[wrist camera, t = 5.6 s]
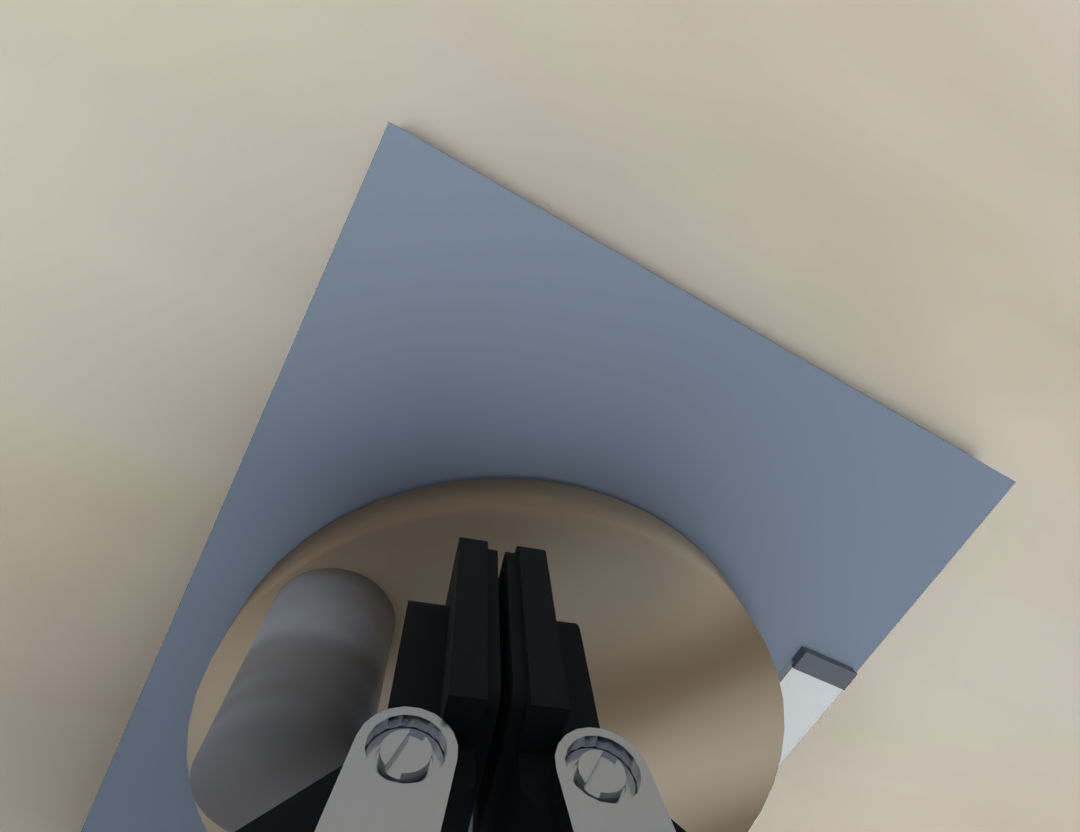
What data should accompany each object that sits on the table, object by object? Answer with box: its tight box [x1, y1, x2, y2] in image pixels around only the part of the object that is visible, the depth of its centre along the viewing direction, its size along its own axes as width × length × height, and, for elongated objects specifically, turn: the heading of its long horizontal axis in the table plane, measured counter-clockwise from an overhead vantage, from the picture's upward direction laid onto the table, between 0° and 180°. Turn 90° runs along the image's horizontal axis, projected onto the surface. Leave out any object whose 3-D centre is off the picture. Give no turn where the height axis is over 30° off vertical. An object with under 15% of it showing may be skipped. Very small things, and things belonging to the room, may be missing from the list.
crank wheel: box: [187, 478, 785, 832], centre depth 15 cm, size 15×14×6 cm
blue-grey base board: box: [81, 122, 1015, 832], centre depth 18 cm, size 24×17×2 cm
